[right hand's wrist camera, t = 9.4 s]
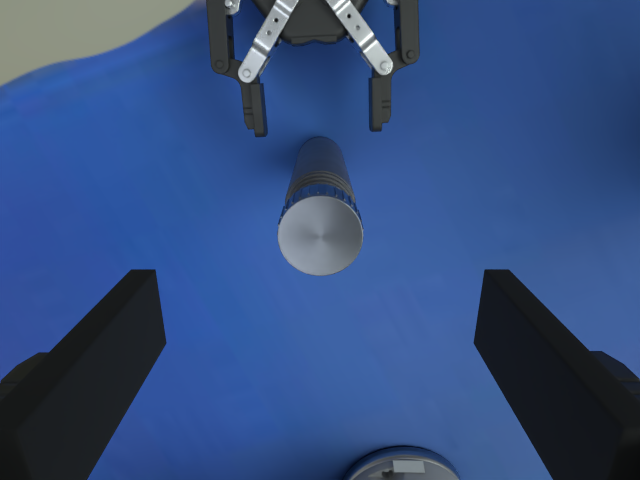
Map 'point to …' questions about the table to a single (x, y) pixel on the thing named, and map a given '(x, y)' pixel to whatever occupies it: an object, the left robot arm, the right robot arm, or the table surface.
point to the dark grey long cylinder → (320, 167)
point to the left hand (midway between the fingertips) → (318, 133)
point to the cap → (320, 230)
